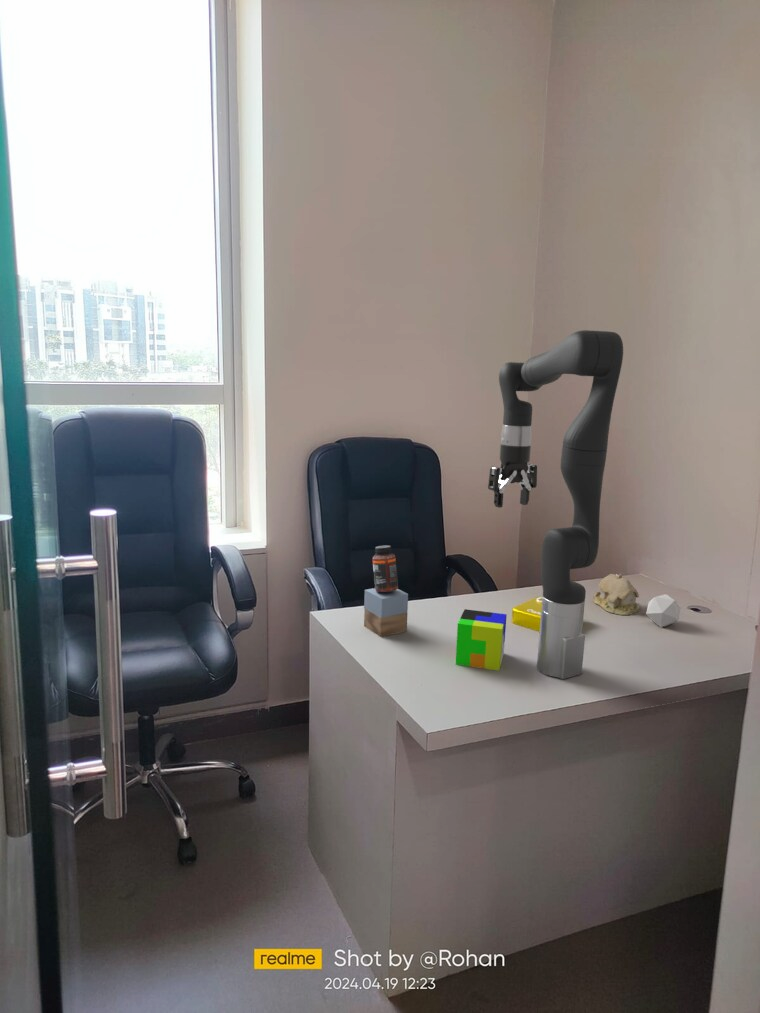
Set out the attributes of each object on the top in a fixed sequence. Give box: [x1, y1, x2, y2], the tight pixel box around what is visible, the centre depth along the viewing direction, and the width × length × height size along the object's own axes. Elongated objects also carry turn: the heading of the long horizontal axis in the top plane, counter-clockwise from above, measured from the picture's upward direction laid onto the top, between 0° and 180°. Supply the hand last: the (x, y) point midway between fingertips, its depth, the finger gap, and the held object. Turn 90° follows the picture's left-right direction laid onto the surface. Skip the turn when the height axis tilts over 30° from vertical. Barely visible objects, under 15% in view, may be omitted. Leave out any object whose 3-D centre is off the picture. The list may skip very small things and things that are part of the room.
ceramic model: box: [593, 573, 640, 616], centre depth 208 cm, size 14×11×10 cm
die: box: [645, 593, 682, 628], centre depth 195 cm, size 8×9×10 cm
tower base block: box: [363, 609, 408, 638], centre depth 186 cm, size 8×8×5 cm
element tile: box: [511, 596, 585, 633], centre depth 194 cm, size 15×15×5 cm
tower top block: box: [363, 587, 409, 618], centre depth 185 cm, size 8×8×5 cm
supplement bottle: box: [372, 544, 399, 592], centre depth 184 cm, size 6×6×11 cm
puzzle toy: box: [455, 608, 507, 671], centre depth 169 cm, size 10×10×10 cm
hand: (511, 505), depth 186 cm, fingers open, 8 cm apart
